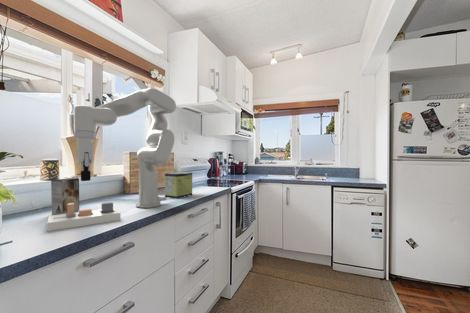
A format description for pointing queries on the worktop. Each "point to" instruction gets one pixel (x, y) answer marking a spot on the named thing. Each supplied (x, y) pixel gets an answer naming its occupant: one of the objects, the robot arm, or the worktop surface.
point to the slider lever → (70, 210)
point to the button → (107, 207)
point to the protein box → (178, 184)
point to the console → (81, 219)
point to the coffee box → (64, 195)
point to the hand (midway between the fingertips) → (85, 180)
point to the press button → (85, 212)
